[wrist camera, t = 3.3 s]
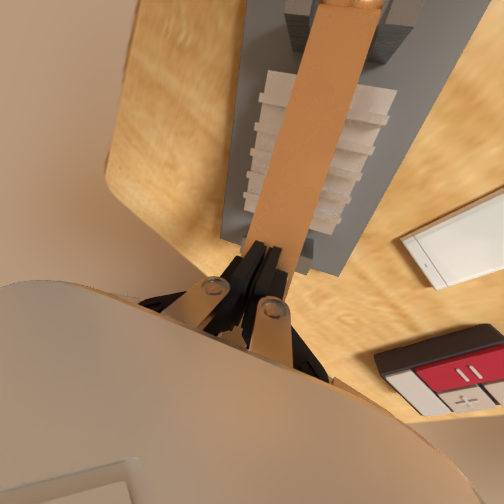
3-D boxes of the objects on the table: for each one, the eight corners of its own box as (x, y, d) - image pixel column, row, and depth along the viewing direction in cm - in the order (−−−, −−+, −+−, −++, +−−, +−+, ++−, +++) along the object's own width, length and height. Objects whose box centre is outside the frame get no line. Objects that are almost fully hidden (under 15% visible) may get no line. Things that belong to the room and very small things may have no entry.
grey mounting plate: (256, -8, 16) (250, -27, 15) (473, 11, 14) (496, -9, 12) (225, 233, 29) (220, 238, 27) (336, 268, 26) (338, 276, 24)
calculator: (564, 403, 22) (424, 422, 29) (527, 368, 26) (411, 392, 33) (514, 344, 20) (380, 379, 28) (482, 316, 24) (371, 353, 31)
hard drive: (575, 159, 15) (402, 242, 21) (609, 236, 16) (437, 293, 22) (552, 159, 16) (397, 236, 22) (586, 230, 18) (430, 284, 24)
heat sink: (285, 15, 15) (273, -41, 11) (417, 29, 14) (466, -30, 9) (244, 233, 25) (230, 249, 21) (317, 255, 24) (317, 279, 19)
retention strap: (323, 3, 12) (328, -33, 11) (380, 8, 12) (395, -29, 10) (235, 286, 14) (228, 291, 12) (282, 303, 13) (281, 310, 11)
